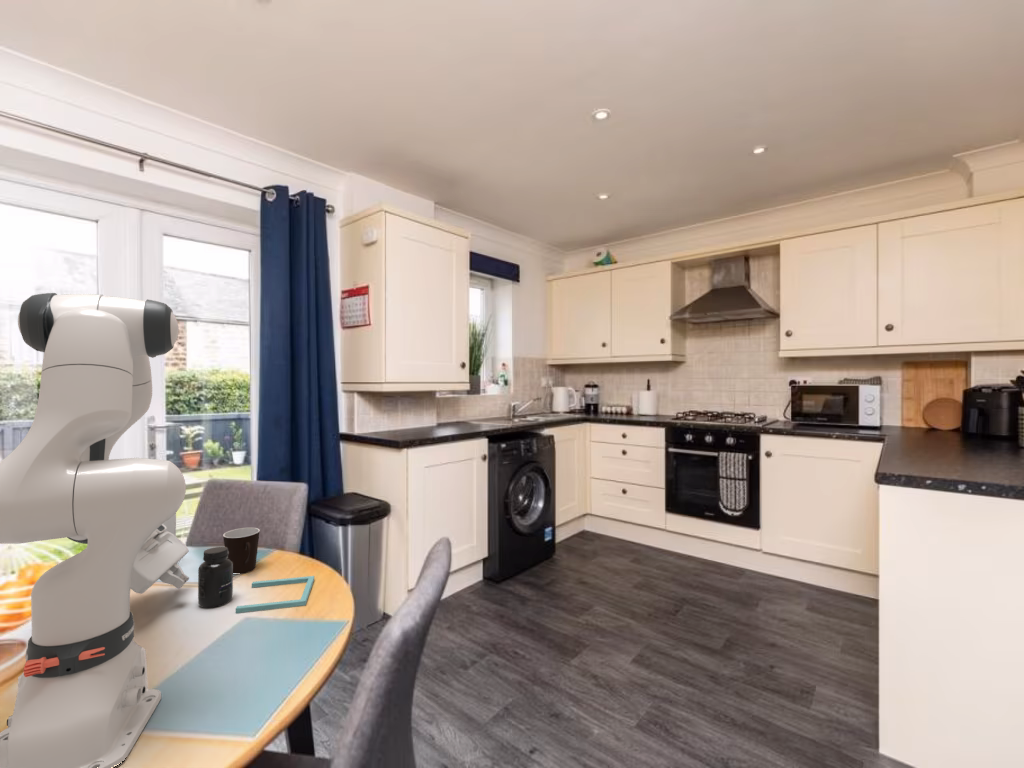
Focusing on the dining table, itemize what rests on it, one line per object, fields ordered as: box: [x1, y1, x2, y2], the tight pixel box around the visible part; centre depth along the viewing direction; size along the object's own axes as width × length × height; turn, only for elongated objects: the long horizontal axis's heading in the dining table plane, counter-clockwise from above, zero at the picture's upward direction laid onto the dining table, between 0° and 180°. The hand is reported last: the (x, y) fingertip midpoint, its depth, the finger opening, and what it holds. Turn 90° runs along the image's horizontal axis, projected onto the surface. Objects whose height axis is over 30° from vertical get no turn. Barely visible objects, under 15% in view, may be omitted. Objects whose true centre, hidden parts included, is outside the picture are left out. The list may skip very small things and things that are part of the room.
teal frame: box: [235, 575, 315, 614], centre depth 115 cm, size 14×14×1 cm
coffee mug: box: [222, 527, 261, 575], centre depth 128 cm, size 12×9×10 cm
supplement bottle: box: [197, 546, 234, 609], centre depth 111 cm, size 7×7×12 cm
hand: (184, 583), depth 110 cm, fingers closed
